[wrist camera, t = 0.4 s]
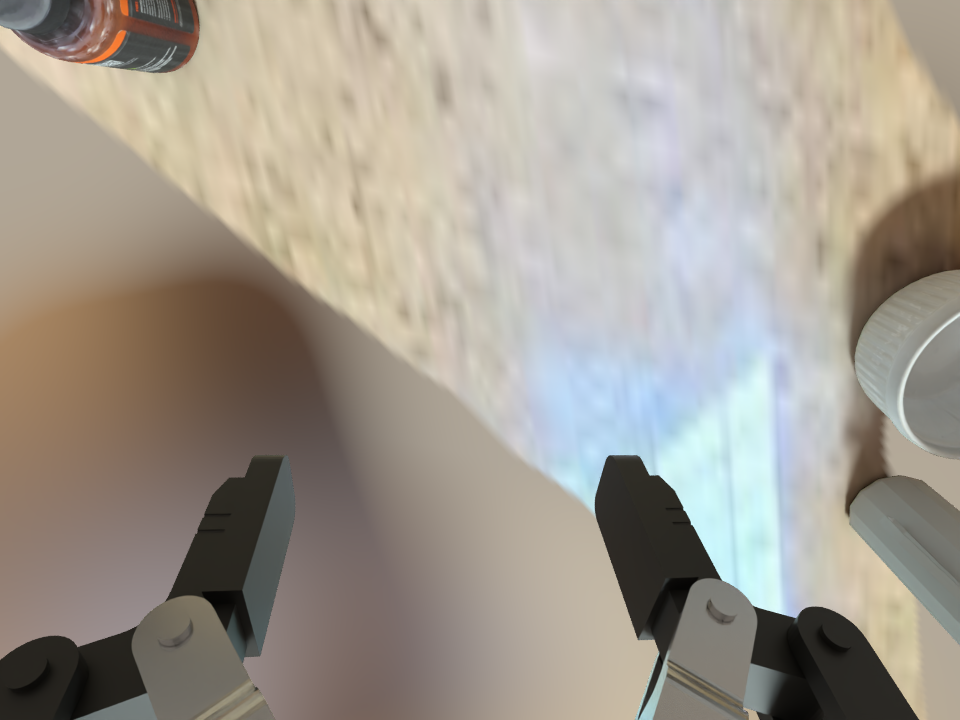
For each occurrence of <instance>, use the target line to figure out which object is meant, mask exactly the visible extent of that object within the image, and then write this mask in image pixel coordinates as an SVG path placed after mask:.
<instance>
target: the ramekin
mask: <svg viewBox="0 0 960 720" xmlns="http://www.w3.org/2000/svg"><path fill="white" fill-rule="evenodd" d="M855 369H856V376H857V378H858V379H859V383H860V385H861V387H862V388H863V391H864V392H865V393H866V395H867V396H868V397H869V398H870V399H871V400H872V402H873V403H874V404H875V405H876V406H877V407H878V408H879V409H880V410H881V411H882V412H883V413H884V414H885V415H886V416H887V417H888V418H889V419H891V421H892V423H893V424H894V425H895V427H896V428H897V429H898V430H899V432H900V433H901V434H902V435H903V436H904V437H905V438H907V439H908V440H909V441H911V442H912V443H914V444H915V445H917V446H919V447H920V448H922V449H923V450H925V451H927V452H929V453H931V454H934V455H936V456H940V457H944V458H949V459H957V460H960V270H952V271H944V272H940V273H936V274H933V275H930V276H928V277H924V278H922V279H920V280H918V281H916V282H913V283H911V284H909V285H908V286H906V287H904V288H902V289H900V290H899V291H898V292H896V293H895V294H893V295H892V296H891V297H889V298H888V299H887V300H886V301H885V302H884V303H882V304H881V305H880V306H879V307H878V309H877V310H876V311H875V312H874V313H873V314H872V316H871V317H870V318H869V320H868V321H867V323H866V324H865V326H864V328H863V330H862V332H861V334H860V337H859V340H858V343H857V347H856V353H855Z"/></svg>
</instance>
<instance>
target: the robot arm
mask: <svg viewBox="0 0 960 720" xmlns="http://www.w3.org/2000/svg"><path fill="white" fill-rule="evenodd" d="M595 514H596V519H597V522H598V525H599V528H600V531H601V534H602V536H603V539H604V542H605V545H606V548H607V551H608V554H609V557H610V560H611V563H612V565H613V568H614V571H615V574H616V577H617V580H618V583H619V586H620V589H621V592H622V594H623V598H624V601H625V603H626V606H627V609H628V612H629V615H630V618H631V621H632V624H633V627H634V630H635V633H636V636H637V638H638V640H652V639H654V640H655V642H656V645H657V648H658V650H659V652H658V655H657V657H656V659H655V662H654V665H653V668H652V671H651V674H650V677H649V680H648V683H647V686H646V689H645V692H644V695H643V698H642V701H641V704H640V707H639V710H638V712H637V715H636V718H635V720H749V715H748V712H747V711H745V710H744V709H743V707H745V708H748V709H751V710H754V711H756V712H757V714H758V717H759V719H760V720H919V719H918V718H917V716H916V714H915V713H914V711H913V710H912V708H911V707H910V705H909V704H908V702H907V701H906V699H905V697H904V696H903V694H902V693H901V691H900V690H899V688H898V687H897V685H896V684H895V682H894V681H893V679H892V677H891V676H890V674H889V673H888V671H887V670H886V668H885V667H884V665H883V664H882V662H881V661H880V659H879V657H878V656H877V654H876V653H875V651H874V650H873V648H872V647H871V645H870V644H869V642H868V641H867V639H866V638H865V636H864V635H863V634H862V632H861V631H860V630H859V629H858V628H857V627H856V626H855V625H854V624H853V623H852V622H850V621H849V620H848V619H846V618H845V617H843V616H842V615H840V614H838V613H836V612H834V611H832V610H830V609H827V608H823V607H808V608H805V609H804V610H802V611H801V612H800V614H799V615H798V616H797V618H793V617H789V616H786V615H782V614H778V613H775V612H771V611H767V610H764V609H760V608H757V607H755V606H753V605H752V604H751V603H750V601H749V600H748V599H747V598H746V596H745V595H744V594H743V593H742V592H740V591H739V590H738V589H737V588H735V587H734V586H732V585H730V584H729V583H726V582H724V581H722V580H721V578H720V576H719V574H718V573H717V571H716V569H715V567H714V565H713V563H712V561H711V559H710V557H709V555H708V554H707V552H706V550H705V548H704V546H703V544H702V542H701V540H700V538H699V536H698V535H697V533H696V531H695V529H694V527H693V525H691V521H690V519H689V517H688V516H687V514H686V512H685V511H684V510H683V506H682V504H681V502H680V500H679V498H678V496H677V495H676V493H675V491H674V490H673V489H672V488H671V487H670V486H669V485H668V484H667V483H666V482H665V481H664V480H663V479H662V478H661V477H660V476H659V475H655V476H649V474H648V472H647V470H646V468H645V466H644V464H643V461H642V460H641V458H640V457H639V456H637V455H610V456H608V457H607V459H606V461H605V465H604V468H603V472H602V475H601V478H600V482H599V485H598V489H597V492H596V496H595ZM204 515H205V516H204V518H202V521H201V523H200V525H199V527H198V533H197V534H195V537H194V539H193V542H192V544H191V546H190V549H189V551H188V553H187V555H186V558H185V560H184V562H183V564H182V567H181V569H180V572H179V574H178V576H177V578H176V581H175V583H174V585H173V588H172V590H171V592H170V594H169V596H168V598H167V599H166V601H165V602H164V603H162V604H160V605H159V606H157V607H156V608H154V609H153V610H152V611H151V612H149V613H148V614H147V615H146V616H145V617H144V619H143V620H142V621H141V622H140V624H139V625H138V626H136V627H134V628H132V629H130V630H128V631H126V632H123V633H121V634H117V635H114V636H111V637H108V638H105V639H102V640H99V641H95V642H92V643H89V644H86V645H83V646H80V647H77V646H76V644H75V643H74V642H73V641H72V640H70V639H69V638H66V637H62V636H48V637H42V638H38V639H35V640H32V641H30V642H27V643H25V644H24V645H21V646H20V647H18V648H16V649H15V650H13V651H12V652H10V653H9V654H7V655H6V656H5V657H4V658H2V659H1V660H0V720H275V718H274V716H273V714H272V712H271V710H270V708H269V706H268V704H267V703H266V701H265V699H264V697H263V695H262V694H261V692H260V690H259V689H258V688H257V687H255V686H254V684H253V683H252V681H251V679H250V677H249V676H248V673H247V671H246V670H245V668H244V666H243V660H244V657H256V656H260V655H261V651H262V647H263V643H264V639H265V635H266V631H267V627H268V623H269V619H270V615H271V611H272V607H273V603H274V599H275V595H276V591H277V587H278V583H279V579H280V576H281V572H282V568H283V564H284V559H285V555H286V552H287V547H288V544H289V539H290V536H291V532H292V527H293V523H294V517H295V495H294V488H293V482H292V476H291V469H290V463H289V458H288V456H287V455H257V456H256V455H255V456H254V457H253V458H252V460H251V463H250V465H249V468H248V470H247V473H246V476H245V478H229V479H228V480H227V481H226V482H225V483H224V484H223V485H222V486H221V487H220V488H219V489H218V490H217V491H216V492H215V493H214V494H213V495H212V497H211V500H210V502H209V505H208V507H207V509H206V511H205V514H204Z"/></svg>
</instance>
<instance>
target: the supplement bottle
mask: <svg viewBox="0 0 960 720" xmlns="http://www.w3.org/2000/svg"><path fill="white" fill-rule="evenodd" d="M0 26H3V27H5V28H8V29H11V30H12V31H13V32H14V33H15V34H16V35H17V36H18V37H19V38H20V39H21V40H22V41H23V42H25V43H26V44H28V45H29V46H31V47H32V48H34V49H36V50H37V51H39V52H41V53H43V54H45V55H48V56H50V57H53V58H56V59H59V60H63V61H68V62H76V63H81V64H89V65H97V66H105V67H112V68H120V69H127V70H136V71H143V72H150V73H167V72H171V71H175V70H177V69H179V68H181V67H183V66H184V65H185V64H186V63H187V62H188V61H189V60H190V59H191V57H192V56H193V54H194V52H195V50H196V47H197V44H198V39H199V21H198V16H197V12H196V9H195V6H194V3H193V1H192V0H0Z"/></svg>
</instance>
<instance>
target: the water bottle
mask: <svg viewBox="0 0 960 720" xmlns="http://www.w3.org/2000/svg"><path fill="white" fill-rule="evenodd" d="M849 524H850V525H851V527H852V528H853V529H854V530H855V531H856V532H857V533H858V534H859V536H860V537H861V538H862V539H863V540H864V541H865V542H866V543H867V544H868V545H869V546H870V548H871V549H872V550H873V551H874V552H875V553H876V554H877V555H878V556H879V557H880V559H881V560H882V561H883V562H884V563H885V564H886V565H887V566H888V567H889V568H890V570H891V571H892V572H893V573H894V574H895V575H896V576H897V577H898V578H899V579H900V581H901V582H902V583H903V584H904V585H905V586H906V587H907V588H908V589H909V590H910V591H911V593H912V594H913V595H914V596H915V597H916V598H917V599H918V600H919V601H920V602H921V603H922V605H923V606H924V607H925V608H926V609H927V610H928V611H929V612H930V613H931V615H932V616H933V617H934V618H935V619H936V620H937V621H938V622H939V623H940V624H941V625H942V627H943V628H944V629H945V630H946V631H947V632H948V633H949V634H950V635H951V636H952V637H953V639H954V640H955V641H956V642H957V643H958V644H959V645H960V511H959V510H958V509H957V508H955V507H954V506H953V505H951V504H950V503H949V502H948V501H947V500H945V499H944V498H943V497H942V496H941V495H939V494H938V493H937V492H936V491H934V490H933V489H932V488H931V487H930V486H928V485H927V484H926V483H925V482H923V481H922V480H918V479H914V478H910V477H906V476H899V475H898V476H892V477H887V478H882V479H878V480H876V481H875V482H873V483H872V484H870V485H869V486H867V487H866V488H864V489H863V490H861V491H860V492H859V493H858V495H857V496H856V498H855V499H854V501H853V502H852V504H851V505H850V522H849Z"/></svg>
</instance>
